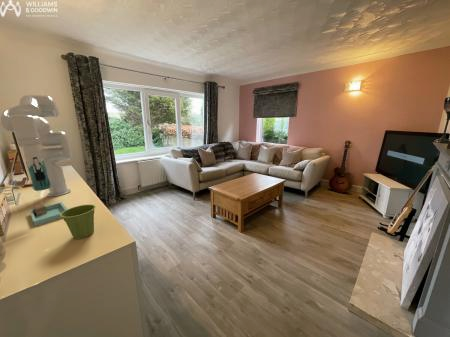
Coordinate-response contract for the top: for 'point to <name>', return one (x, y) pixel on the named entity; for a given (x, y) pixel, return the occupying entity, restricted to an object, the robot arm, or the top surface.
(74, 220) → the plant pot
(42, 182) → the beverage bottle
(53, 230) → the top surface
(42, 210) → the walnut block
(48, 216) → the tray
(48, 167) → the robot arm
